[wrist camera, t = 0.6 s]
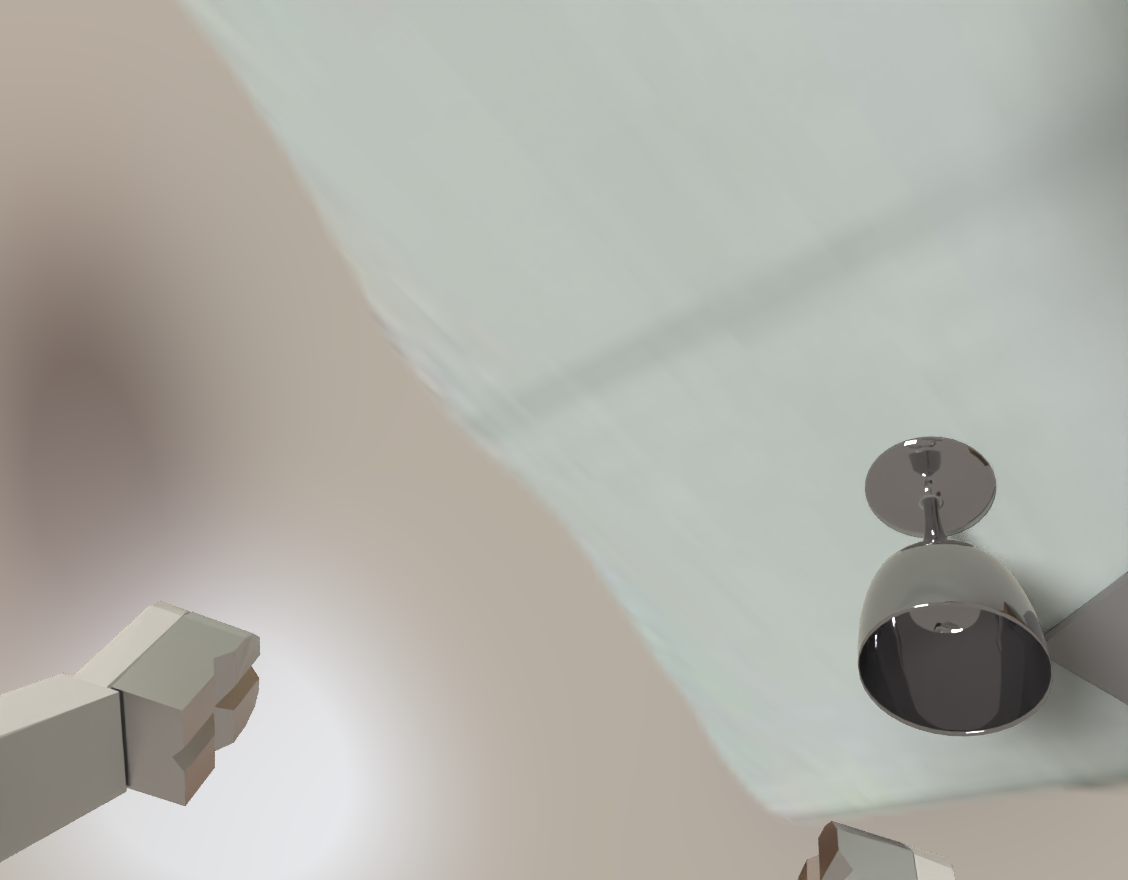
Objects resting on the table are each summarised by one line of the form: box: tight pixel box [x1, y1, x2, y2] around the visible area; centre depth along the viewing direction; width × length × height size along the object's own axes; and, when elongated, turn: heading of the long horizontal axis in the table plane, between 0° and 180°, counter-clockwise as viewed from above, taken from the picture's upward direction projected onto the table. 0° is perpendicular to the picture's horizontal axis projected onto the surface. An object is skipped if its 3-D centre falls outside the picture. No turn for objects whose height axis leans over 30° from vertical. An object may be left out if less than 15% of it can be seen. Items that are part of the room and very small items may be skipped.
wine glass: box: [858, 437, 1052, 736], centre depth 44 cm, size 8×8×15 cm
